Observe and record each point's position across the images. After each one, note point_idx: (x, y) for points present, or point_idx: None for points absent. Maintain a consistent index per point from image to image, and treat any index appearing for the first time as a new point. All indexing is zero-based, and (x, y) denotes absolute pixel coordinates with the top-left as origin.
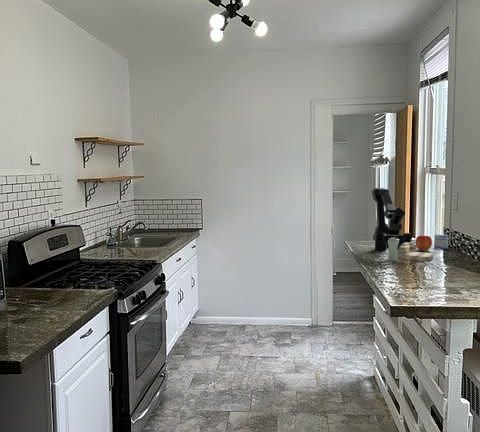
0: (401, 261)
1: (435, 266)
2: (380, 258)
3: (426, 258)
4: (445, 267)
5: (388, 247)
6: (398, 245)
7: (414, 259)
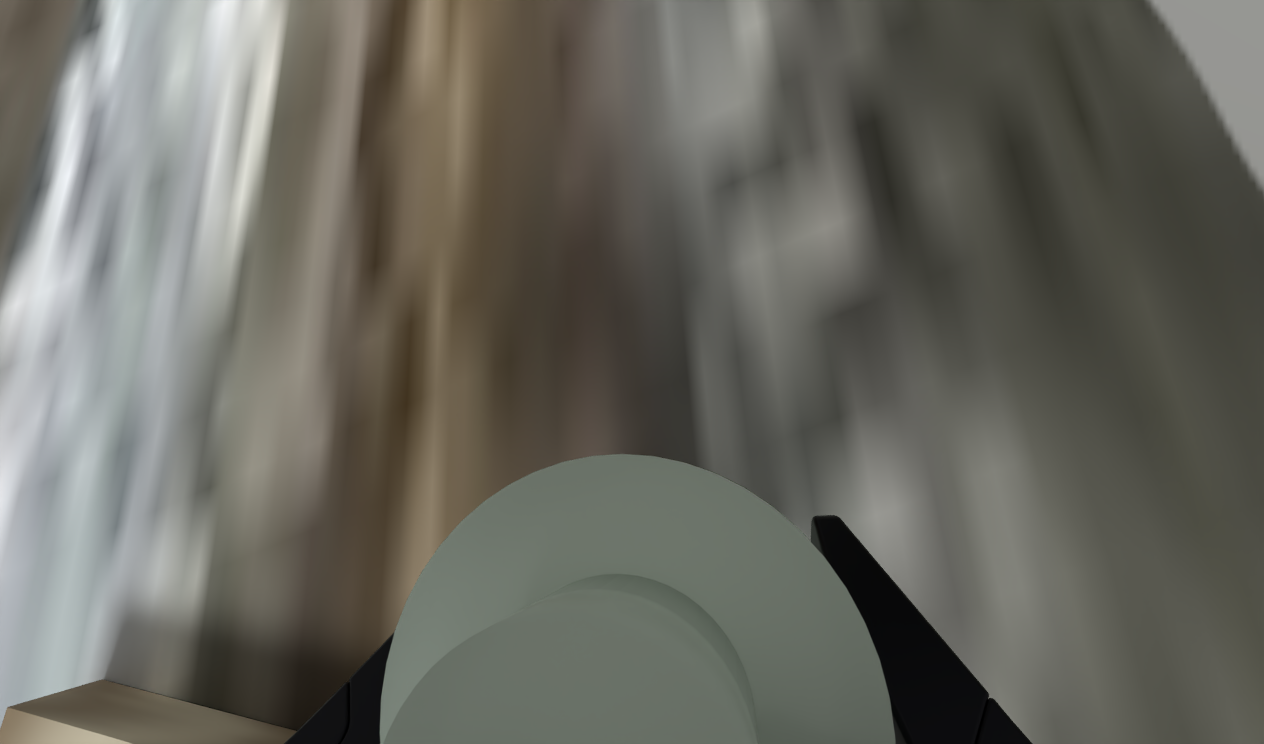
0: None
1: (109, 313)
2: None
3: (93, 710)
4: (13, 299)
5: None
6: None
7: None
